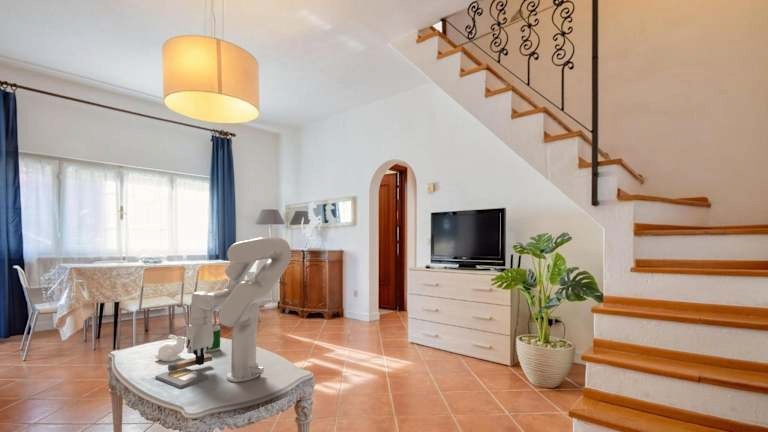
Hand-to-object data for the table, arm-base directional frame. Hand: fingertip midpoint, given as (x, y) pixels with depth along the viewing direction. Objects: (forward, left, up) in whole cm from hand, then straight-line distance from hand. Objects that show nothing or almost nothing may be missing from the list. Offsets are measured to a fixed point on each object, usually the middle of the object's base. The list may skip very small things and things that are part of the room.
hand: (199, 364), depth 150 cm
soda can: (+13, -25, -3) cm, 28 cm away
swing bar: (+4, 0, 0) cm, 4 cm away
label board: (+2, +8, -3) cm, 9 cm away
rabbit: (+23, -11, -3) cm, 25 cm away
